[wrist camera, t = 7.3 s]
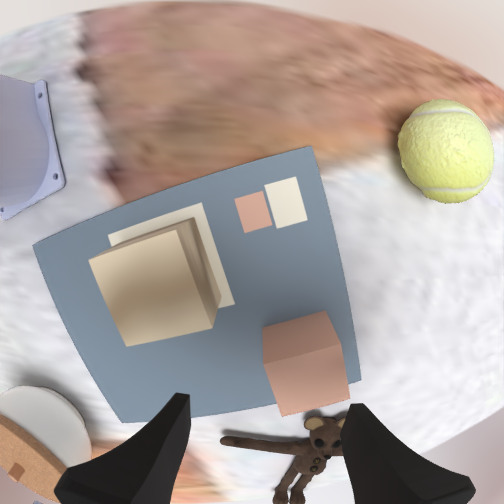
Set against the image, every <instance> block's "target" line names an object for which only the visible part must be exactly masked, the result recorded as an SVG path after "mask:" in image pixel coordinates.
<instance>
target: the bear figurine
mask: <svg viewBox="0 0 504 504" xmlns="http://www.w3.org/2000/svg"><path fill="white" fill-rule="evenodd" d="M345 419H346V417H344V418H341V419H340V420H339V421H338V422H337V421H336V420H335V419H333V418H326V417H319V416H312V417H309V418H307V419H306V420H305V422H304V427H305V428H306V429H308V430H310V439H308V440H306V441H305V442H304V443H299V442H273V441H265V440H257V439H251V438H242V437H233V436H224V437H222V438H221V439H220V443H221V444H222V445H226V446H232V447H240V448H246V449H254V450H260V451H267V452H274V453H282V454H291V455H297V456H296V458H295V461H294V463H293V465H292V466H291V468H290V469H289V471H288V473H286V474H285V477H284V478H283V479H282V480H281V483H280V484H279V485H278V486H277V487H276V490H275V495H274V497H273V504H288V502H289V503H290V504H305V497H304V494H303V488H305V487H306V485H307V483H308V482H310V481H311V479H312V477H313V476H314V475H318V474H320V473H322V472H323V470H324V469H325V468H326V462H327V460H328V459H330V458H331V456H343V452H342V446H341V440H340V439H341V438H340V431H341V429H342V426H343V424H344V421H345ZM298 473H302V474H303V476H302V477H301V478H300V480H299V481H298V482H297V483H296V485H295V486H294V487H293V488H292V489H291V495H290V499H289V500H288V494H287V488H288V487H289V485H290V484H291V483H293V480H294V478H295V477H296V476H297V474H298Z"/></svg>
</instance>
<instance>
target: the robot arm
mask: <svg viewBox="0 0 504 504" xmlns="http://www.w3.org/2000/svg"><path fill="white" fill-rule="evenodd" d="M41 95H42V97H41ZM56 174H58V179H56ZM64 184H65V180H64V176H63V172H62V168H61V164H60V160H59V155H58V151H57V146H56V142H55V137H54V132H53V126H52V121H51V115H50V109H49V103H48V96H47V88H46V82H45V81H44V80H39V81H37V82H36V83H34V84H31V83H27V82H24V81H21V80H17V79H14V78H10V77H7V76H3V75H0V215H1V218H2V220H8V219H9V218H11V217H13V216H14V215H16V214H17V213H19V212H21V211H22V210H24V209H26V208H28V207H29V206H31V205H33V204H34V203H36V202H38V201H40V200H42V199H43V198H45V197H47V196H49V195H51V194H52V193H54V192H56V191H58V190H60V189H62V188H63V186H64ZM3 207H4V210H3ZM190 428H191V410H190V394H184V393H177V392H176V393H175V394H174V395H173V396H172V397H171V399H170V400H169V401H168V402H167V403H166V405H165V406H164V407H163V408H162V409H161V410H160V411H159V412H158V413H157V414H156V416H155V417H154V418H153V419H152V420H151V421H150V422H149V423H147V424H146V425H145V426H144V427H143V428H142V429H141V430H140V431H138V432H137V433H136V434H135V435H133V436H132V437H131V438H129V439H128V440H127V441H125V442H124V443H122V444H121V445H119V446H117V447H116V448H114V449H112V450H111V451H109V452H107V453H105V454H103V455H101V456H99V457H97V458H94V459H92V460H90V461H87V462H84V463H81V464H78V465H75V466H72V467H68V468H67V469H66V471H65V472H64V473H63V474H62V476H61V477H60V479H59V481H58V483H57V484H56V486H55V488H54V494H55V496H56V497H57V499H58V500H59V502H60V503H61V504H170V500H171V495H172V490H173V486H174V482H175V479H176V476H177V473H178V470H179V467H180V464H181V462H182V459H183V456H184V453H185V450H186V447H187V444H188V439H189V434H190ZM340 438H341V446H342V452H343V456H344V460H345V463H346V467H347V470H348V474H349V477H350V481H351V485H352V489H353V493H354V499H355V504H467V503H468V501H470V500H471V498H472V497H473V496H474V494H475V492H476V489H475V487H474V485H473V483H472V482H471V480H470V478H469V477H468V476H465V475H461V474H458V473H455V472H452V471H449V470H447V469H445V468H442V467H440V466H438V465H436V464H434V463H432V462H430V461H429V460H427V459H425V458H423V457H422V456H420V455H419V454H417V453H416V452H414V451H413V450H411V449H410V448H409V447H407V446H406V445H405V444H404V443H403V442H401V441H400V440H399V439H398V438H397V437H396V436H394V435H393V434H392V433H391V432H390V431H389V430H388V429H387V428H386V427H385V426H384V425H383V424H382V423H381V422H380V421H379V420H378V419H377V417H376V416H375V415H374V414H373V413H372V412H371V411H370V410H369V409H368V408H367V407H366V406H365V405H364V404H363V403H357V404H351V405H350V408H349V410H348V413H347V416H346V419H345V421H344V424H343V426H342V429H341V431H340ZM33 504H42V503H40V502H38V501H34V503H33Z"/></svg>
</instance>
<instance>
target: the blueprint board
mask: <svg viewBox="0 0 504 504" xmlns="http://www.w3.org/2000/svg"><path fill="white" fill-rule="evenodd" d="M192 217H194V218H195V221H196V224H197V227H198V230H199V233H200V236H201V239H202V242H203V245H204V248H205V250H206V253H207V256H208V259H209V262H210V265H211V268H212V271H213V273H214V276H215V279H216V282H217V285H218V288H219V290H220V293H221V296H222V297H221V300H220V304H219V307H218V311H217V314H216V318H215V321H214V325H213V328H211V329H207V330H203V331H199V332H194V333H190V334H186V335H181V336H177V337H172V338H167V339H163V340H158V341H153V342H148V343H143V344H138V345H133V346H128V347H126V345H125V343H124V341H123V339H122V337H121V335H120V333H119V331H118V329H117V326H116V324H115V322H114V320H113V318H112V316H111V314H110V311H109V309H108V307H107V305H106V302H105V300H104V298H103V295H102V293H101V291H100V288H99V286H98V284H97V281H96V279H95V276H94V274H93V271H92V269H91V266H90V263H89V261H88V260H89V259H91V258H93V257H94V256H96V255H98V254H100V253H102V252H103V251H105V250H107V249H109V248H111V247H113V246H114V245H116V244H118V243H120V242H122V241H125V240H128V239H131V238H134V237H136V236H139V235H142V234H145V233H148V232H151V231H154V230H157V229H159V228H162V227H165V226H168V225H171V224H174V223H177V222H180V221H183V220H186V219H189V218H192ZM32 246H33V249H34V252H35V255H36V258H37V260H38V263H39V266H40V269H41V271H42V274H43V276H44V279H45V281H46V284H47V286H48V289H49V291H50V294H51V296H52V298H53V301H54V303H55V305H56V308H57V310H58V312H59V314H60V316H61V319H62V321H63V323H64V325H65V327H66V329H67V331H68V333H69V335H70V337H71V339H72V341H73V343H74V345H75V347H76V349H77V351H78V353H79V354H80V356H81V358H82V360H83V362H84V363H85V365H86V367H87V369H88V371H89V372H90V374H91V376H92V377H93V379H94V381H95V382H96V384H97V386H98V387H99V389H100V391H101V392H102V394H103V395H104V397H105V399H106V400H107V402H108V403H109V405H110V406H111V408H112V409H113V411H114V412H115V414H116V415H117V417H118V418H119V420H120V421H121V422H122V423H135V422H150V421H151V420H152V419H153V418H154V417H155V416H156V414H157V413H158V412H159V411H160V410H161V409H162V408H163V407H164V406H165V405H166V403H167V402H168V401H169V400H170V399H171V397H172V396H173V395H174V394H175V393H176V392H177V393H184V394H190V410H191V418H194V417H202V416H210V415H217V414H223V413H229V412H235V411H241V410H247V409H252V408H257V407H262V406H267V405H272V404H276V403H277V402H276V399H275V396H274V394H273V391H272V388H271V385H270V382H269V379H268V377H267V374H266V371H265V368H264V365H263V337H262V327H266V326H270V325H274V324H278V323H282V322H285V321H289V320H293V319H296V318H300V317H304V316H307V315H311V314H314V313H318V312H321V311H324V310H326V312H327V315H328V317H329V319H330V321H331V323H332V325H333V327H334V330H335V332H336V334H337V336H338V338H339V340H340V343H341V347H342V352H343V358H344V363H345V369H346V375H347V381H348V384H351V383H354V382H358V381H361V373H360V365H359V358H358V352H357V345H356V339H355V332H354V326H353V321H352V315H351V309H350V304H349V298H348V293H347V288H346V283H345V278H344V273H343V268H342V263H341V259H340V254H339V250H338V245H337V241H336V236H335V232H334V228H333V224H332V219H331V215H330V211H329V207H328V203H327V199H326V196H325V192H324V188H323V184H322V181H321V177H320V173H319V170H318V166H317V163H316V159H315V156H314V152H313V149H312V146H308V147H304V148H300V149H297V150H293V151H289V152H285V153H281V154H278V155H274V156H270V157H267V158H263V159H260V160H256V161H253V162H249V163H246V164H242V165H239V166H236V167H232V168H229V169H226V170H223V171H220V172H216V173H213V174H210V175H207V176H204V177H201V178H198V179H195V180H192V181H189V182H186V183H183V184H180V185H177V186H174V187H172V188H169V189H166V190H163V191H160V192H158V193H155V194H152V195H149V196H147V197H144V198H141V199H139V200H136V201H133V202H131V203H128V204H126V205H123V206H121V207H118V208H116V209H113V210H111V211H108V212H106V213H103V214H101V215H98V216H96V217H94V218H91V219H89V220H87V221H84V222H82V223H80V224H77V225H75V226H73V227H70V228H68V229H66V230H64V231H61V232H59V233H57V234H55V235H53V236H51V237H48V238H46V239H44V240H42V241H40V242H38V243H36V244H34V245H32Z"/></svg>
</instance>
